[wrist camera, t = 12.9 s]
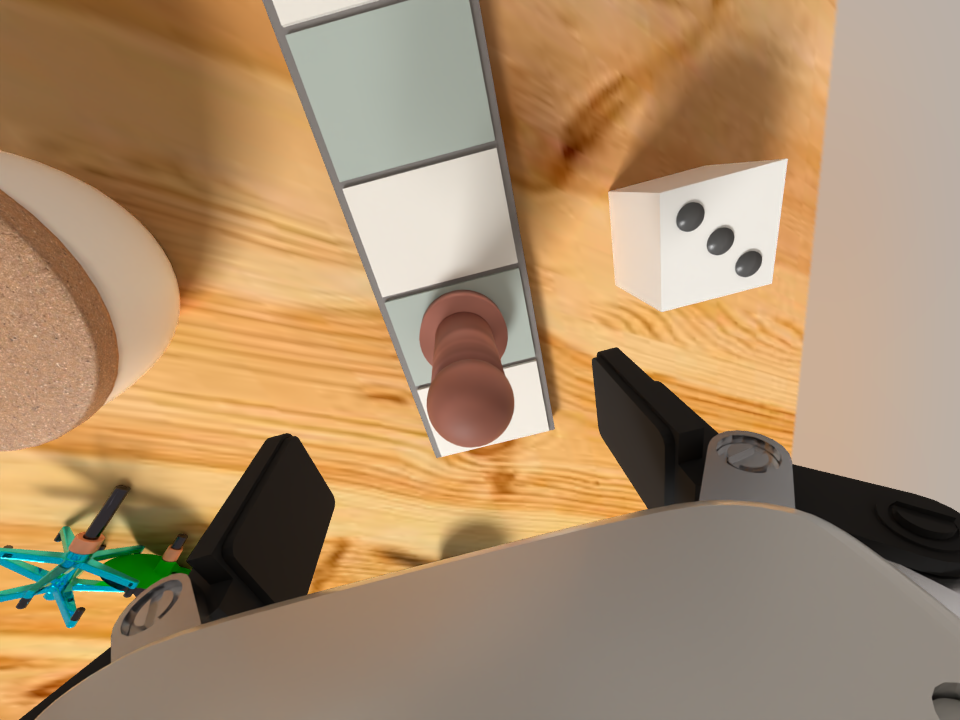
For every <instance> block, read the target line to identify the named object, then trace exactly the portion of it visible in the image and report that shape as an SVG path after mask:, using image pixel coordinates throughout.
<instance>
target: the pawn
mask: <svg viewBox="0 0 960 720" xmlns="http://www.w3.org/2000/svg"><path fill="white" fill-rule="evenodd" d="M419 341H420V347H421V350H422V353H423V355H424V357H425V358H426V360H427V361H428V362H429V364H430V365H431V366H432V377H431V385H430V387H429V390H428V395H427V412H428V416H429V419H430V422H431V424H432V426H433V427H434V429H435V430H436V431H437V433H438V434H439V435H440V436H441V437H443V438H444V439H445V440H447V441H448V442H450V443H452V444H454V445H457V446H461V447H469V448H472V447H480V446H484V445H486V444H489V443H491V442H493V441H494V440H496V439H497V438H498V437H499V436H501V435H502V434H503V432H504V431H505V430H506V428H507V427H508V425H509V424H510V422H511V419H512V416H513V413H514V394H513V390H512V387H511V385H510V383H509V381H508V379H507V378H506V376H505V373H504V370H503V366H502V363H501V360H500V359H501V358H502V356H503V354H504V352H505V350H506V347H507V342H508V331H507V326H506V323H505V321H504V318H503V316H502V314H501V312H500V310H499V308H498V307H497V305H496V304H495V303H494V302H493V301H492V300H491V299H490V298H488V297H487V296H485V295H483V294H481V293H479V292H476V291H472V290H455V291H451V292H448V293H445V294H443V295H441V296H440V297H438V298H437V299H435V300H434V301H433V302H432V303H431V304H430V305H429V307H428V308H427V310H426V311H425V313H424V316H423V319H422V323H421V328H420V333H419Z"/></svg>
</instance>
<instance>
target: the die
mask: <svg viewBox="0 0 960 720" xmlns="http://www.w3.org/2000/svg"><path fill="white" fill-rule="evenodd" d="M787 161H788V159H777V160H765V161H753V162H741V163H729V164H717V165H705V166H701V167H697V168H694V169H690V170H686V171H683V172H679V173H675V174H672V175H668V176H664V177H660V178H657V179H653V180H649V181H646V182H642V183H638V184H635V185H631V186H627V187H623V188H620V189H616V190H612V191H609V192H608V194H609V207H610V220H611V234H612V247H613V261H614V274H615V285H616V286H618V287H619V288H621V289H623V290H625V291H626V292H628V293H630V294H631V295H633V296H635V297H637V298H638V299H640V300H642V301H643V302H645V303H647V304H649V305H650V306H652V307H654V308H655V309H657V310H659V311H661V312H663V311H667V310H671V309H675V308H679V307H683V306H687V305H691V304H694V303H698V302H702V301H706V300H710V299H714V298H718V297H722V296H725V295H729V294H733V293H737V292H741V291H745V290H749V289H753V288H756V287H760V286H764V285H768V284H772V278H773V270H774V263H775V255H776V247H777V239H778V231H779V223H780V216H781V208H782V200H783V192H784V184H785V176H786V169H787Z"/></svg>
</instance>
